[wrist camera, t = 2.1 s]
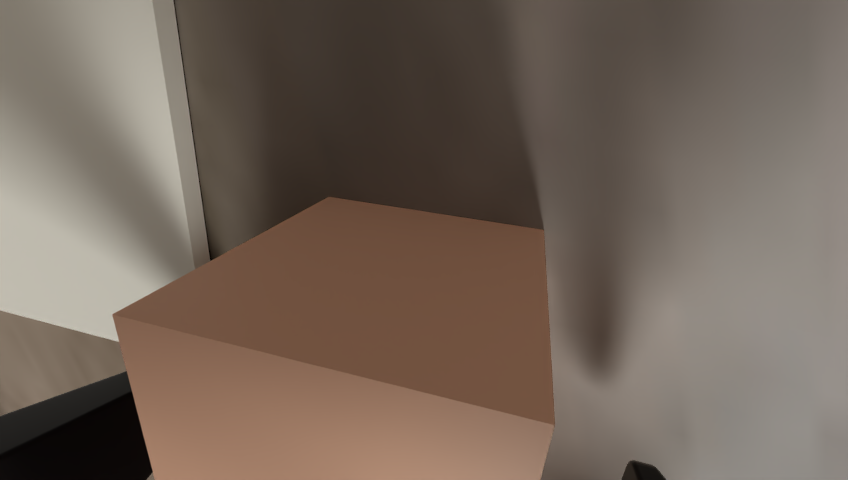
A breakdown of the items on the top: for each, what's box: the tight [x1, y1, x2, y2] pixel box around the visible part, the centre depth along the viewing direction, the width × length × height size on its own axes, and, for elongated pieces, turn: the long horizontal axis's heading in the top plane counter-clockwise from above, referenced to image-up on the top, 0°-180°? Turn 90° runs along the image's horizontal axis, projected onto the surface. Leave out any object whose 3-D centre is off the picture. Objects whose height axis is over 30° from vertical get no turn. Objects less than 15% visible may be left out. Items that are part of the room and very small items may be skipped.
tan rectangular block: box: [112, 197, 555, 480], centre depth 8 cm, size 8×4×5 cm, turn 176°
